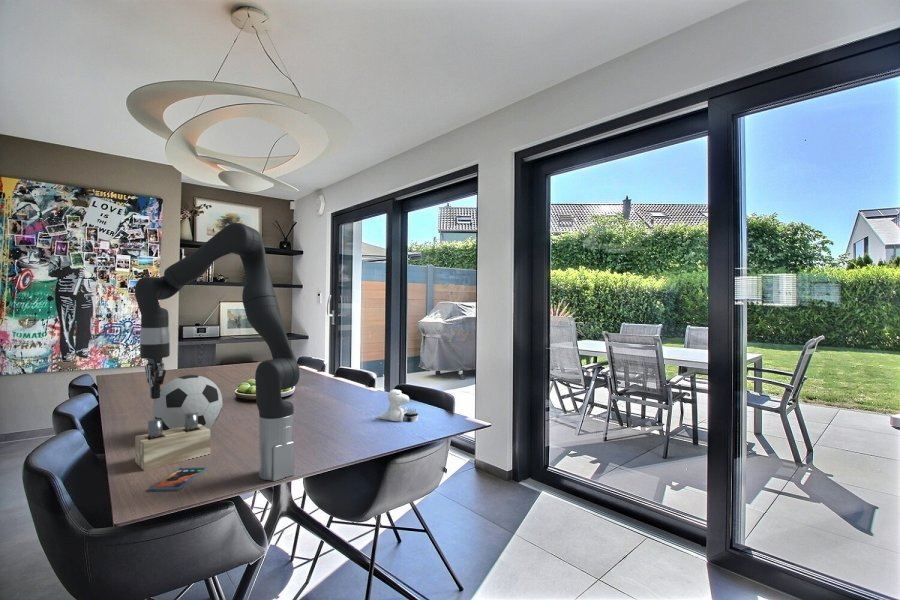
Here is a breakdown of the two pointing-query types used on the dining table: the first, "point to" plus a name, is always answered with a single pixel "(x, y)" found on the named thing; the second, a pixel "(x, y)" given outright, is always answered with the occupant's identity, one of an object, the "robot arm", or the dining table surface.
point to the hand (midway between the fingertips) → (155, 398)
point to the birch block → (171, 447)
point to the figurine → (398, 408)
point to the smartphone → (177, 479)
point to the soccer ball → (188, 402)
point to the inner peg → (191, 422)
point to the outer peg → (154, 429)
